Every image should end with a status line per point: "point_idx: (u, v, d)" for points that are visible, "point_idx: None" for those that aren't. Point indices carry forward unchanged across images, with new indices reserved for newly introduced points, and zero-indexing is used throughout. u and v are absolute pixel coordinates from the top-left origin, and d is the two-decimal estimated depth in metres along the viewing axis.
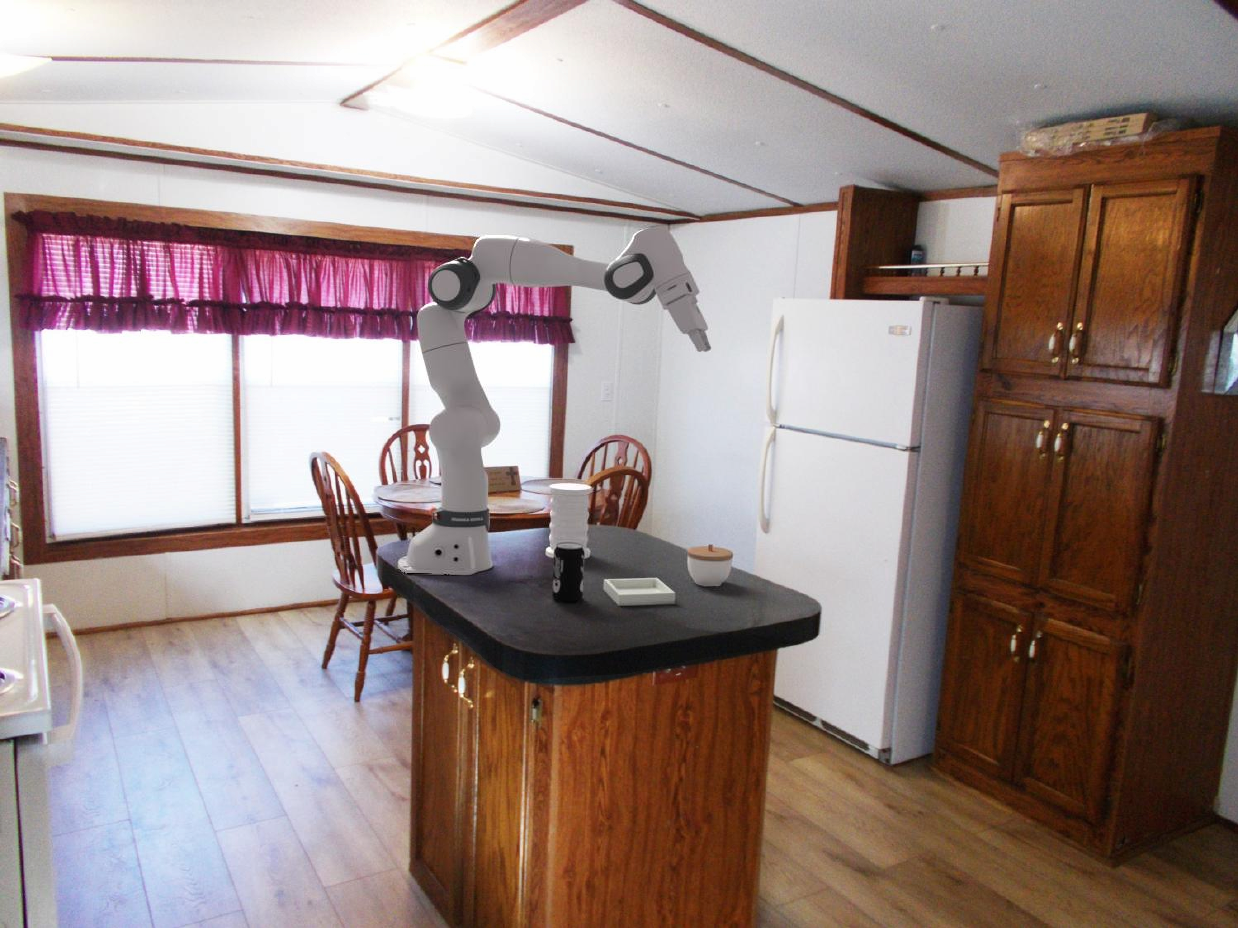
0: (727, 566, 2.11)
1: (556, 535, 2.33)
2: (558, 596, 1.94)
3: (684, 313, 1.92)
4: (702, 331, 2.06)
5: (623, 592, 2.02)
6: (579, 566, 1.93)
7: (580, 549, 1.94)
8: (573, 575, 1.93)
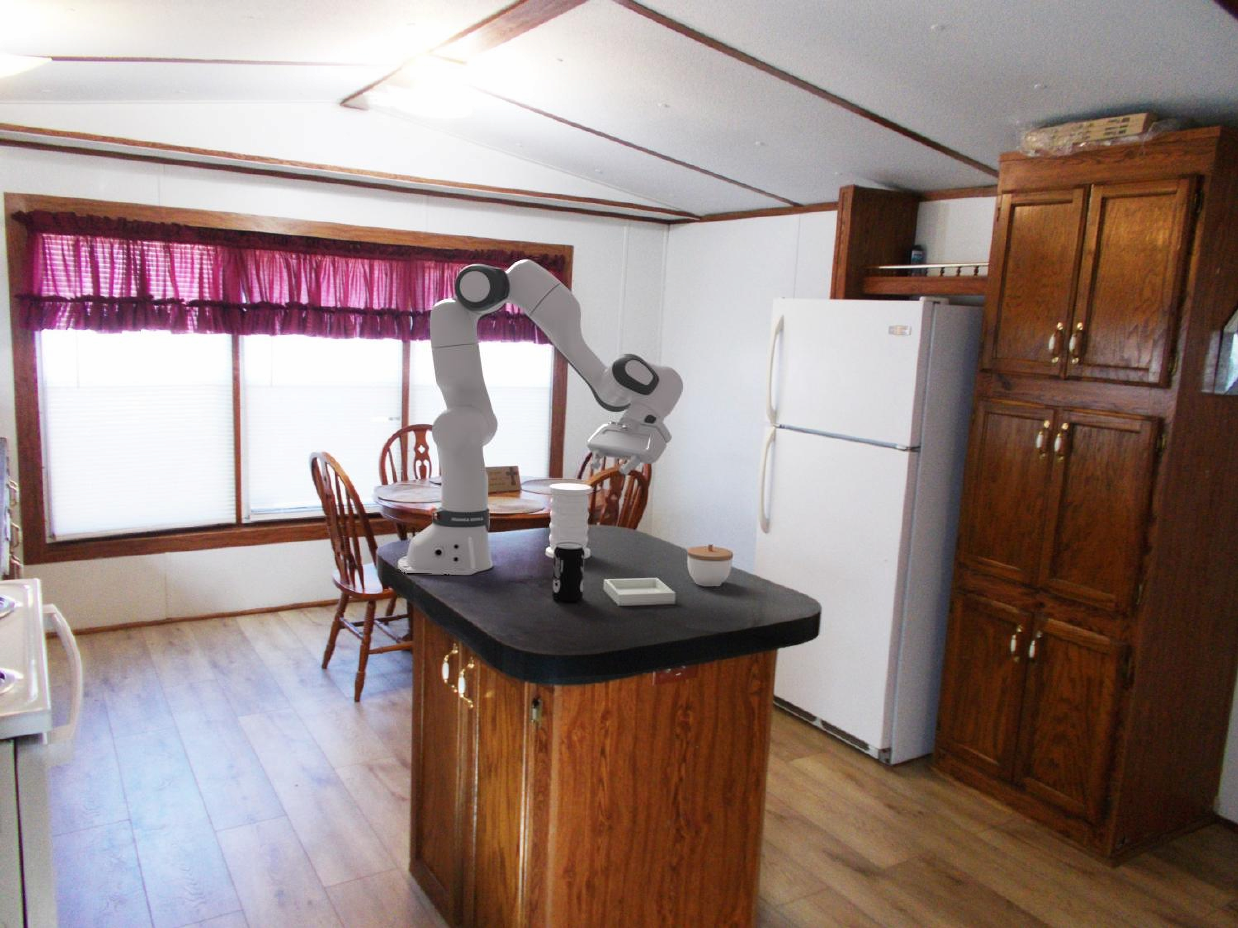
0: (727, 566, 2.11)
1: (556, 535, 2.33)
2: (558, 596, 1.94)
3: (659, 449, 2.03)
4: (603, 454, 2.12)
5: (623, 592, 2.02)
6: (579, 566, 1.93)
7: (580, 549, 1.94)
8: (573, 575, 1.93)
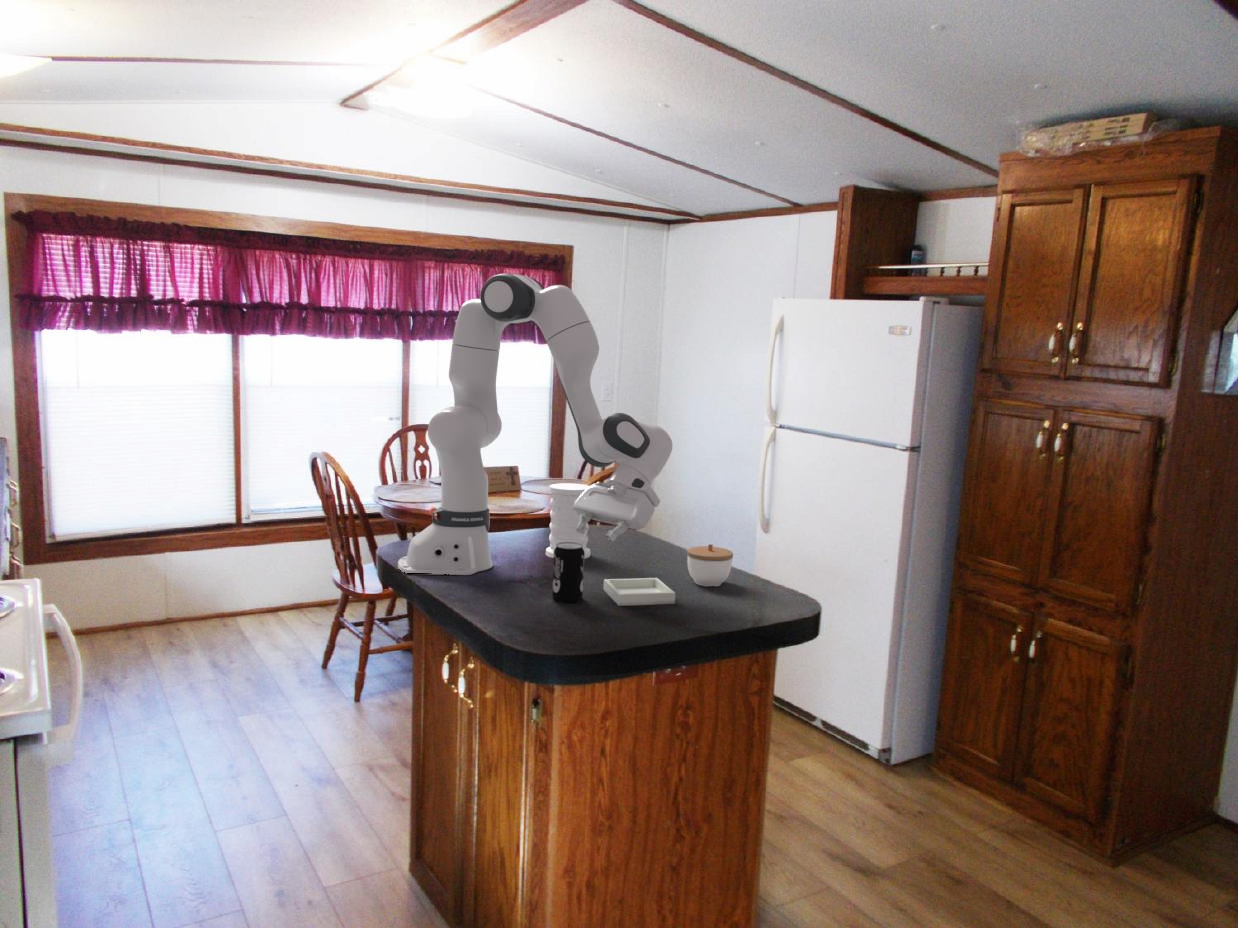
0: (727, 566, 2.11)
1: (556, 535, 2.33)
2: (558, 596, 1.94)
3: (647, 515, 1.97)
4: (590, 517, 2.06)
5: (623, 592, 2.02)
6: (579, 566, 1.93)
7: (580, 549, 1.94)
8: (573, 575, 1.93)
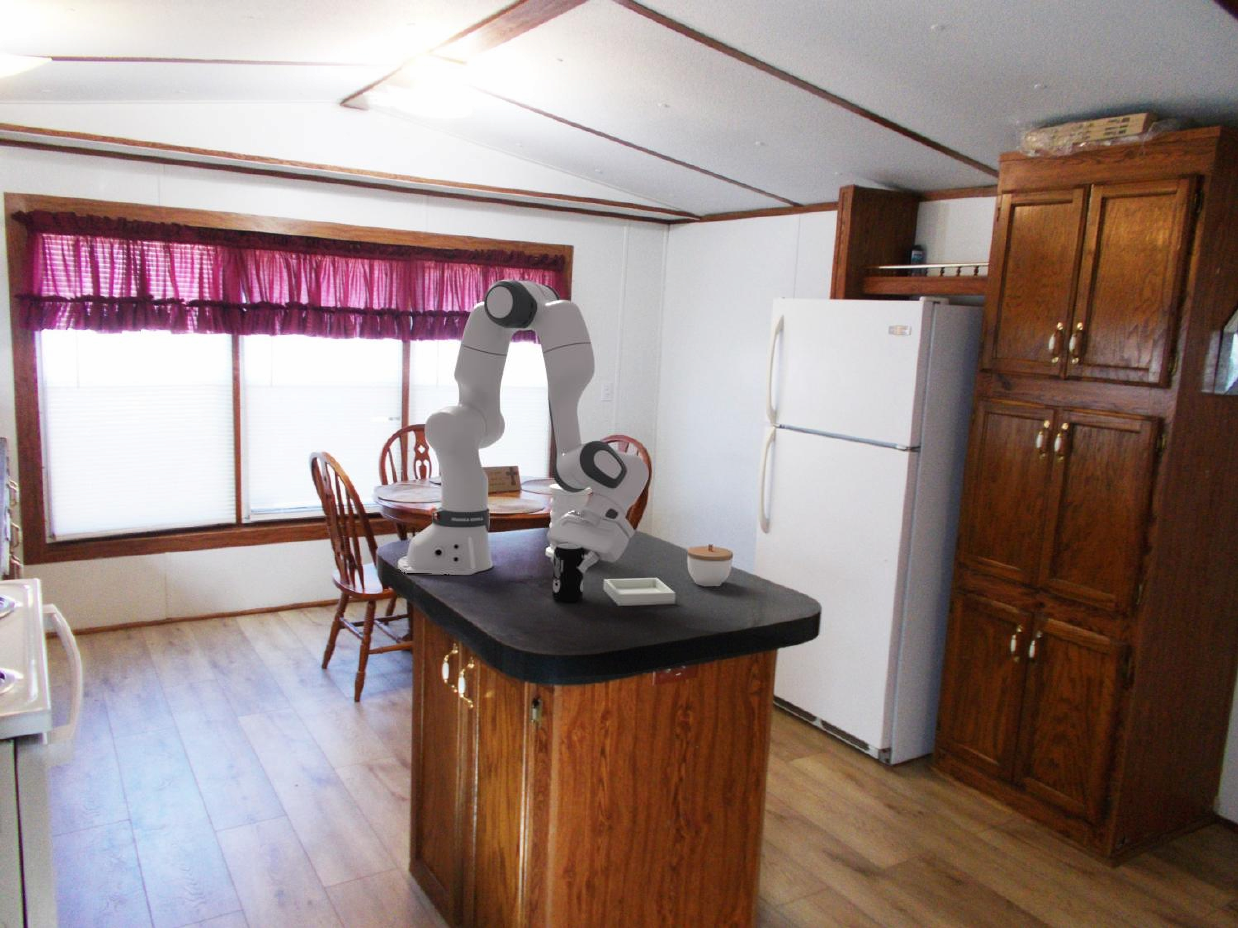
0: (727, 566, 2.11)
1: None
2: (558, 596, 1.94)
3: (621, 546, 1.92)
4: None
5: (623, 592, 2.02)
6: None
7: (580, 549, 1.94)
8: (573, 575, 1.93)
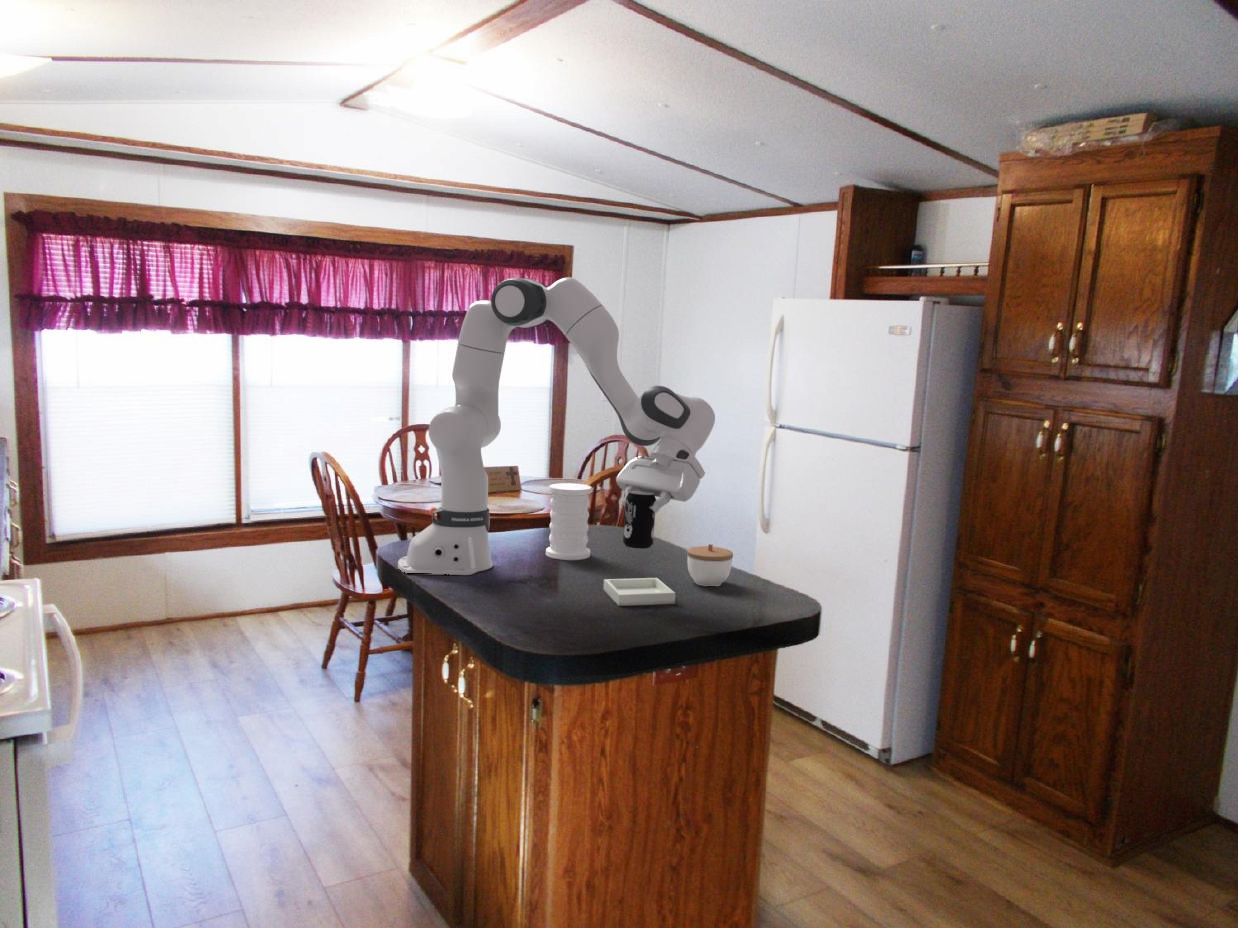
0: (727, 566, 2.11)
1: (556, 535, 2.33)
2: (630, 542, 1.96)
3: (693, 486, 1.94)
4: None
5: (623, 592, 2.02)
6: (651, 512, 1.96)
7: (652, 496, 1.96)
8: (645, 521, 1.95)
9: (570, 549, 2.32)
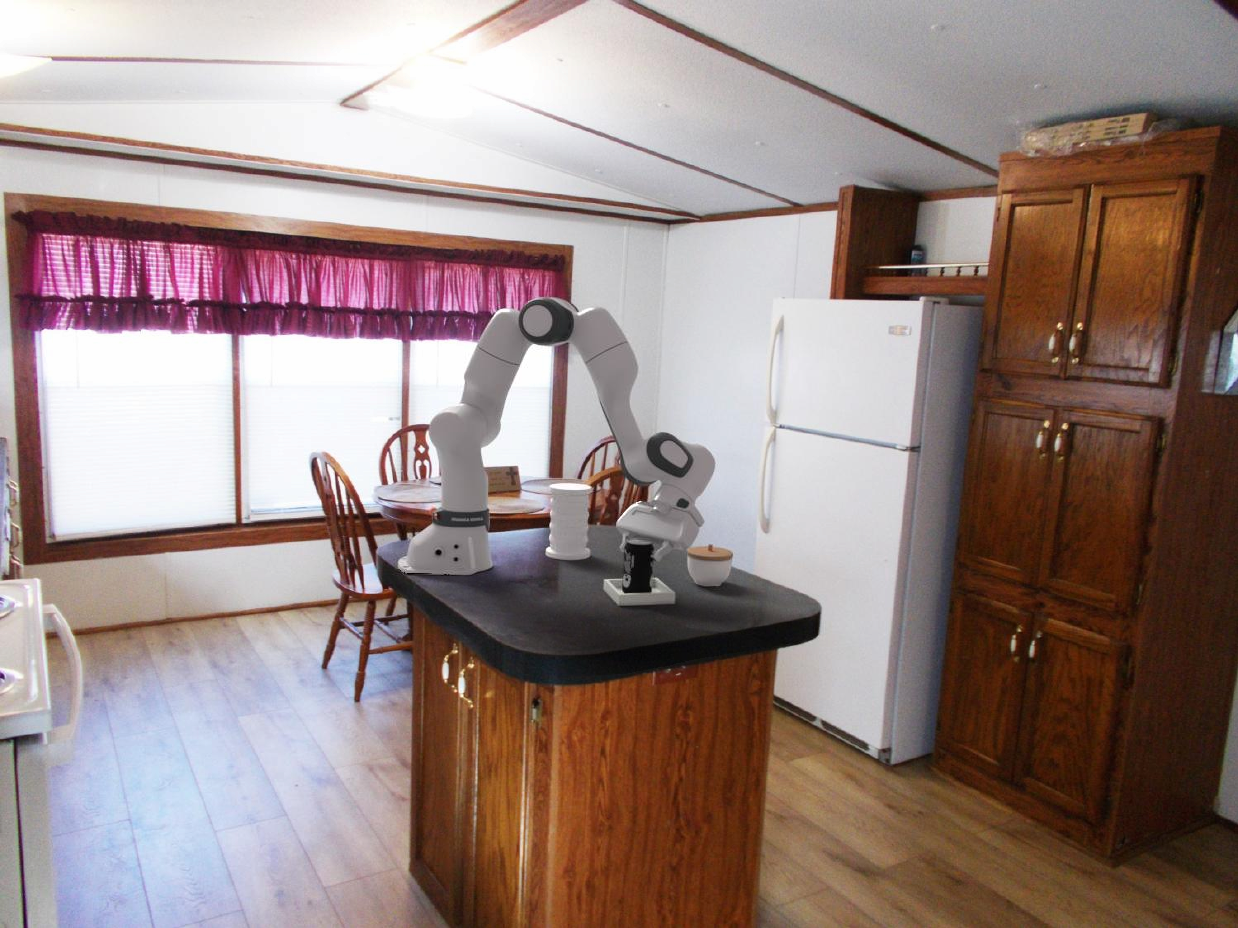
0: (727, 566, 2.11)
1: (556, 535, 2.33)
2: (628, 591, 1.98)
3: (692, 535, 1.96)
4: (633, 536, 2.05)
5: (623, 592, 2.02)
6: (649, 561, 1.97)
7: (650, 545, 1.98)
8: (643, 570, 1.97)
9: (570, 549, 2.32)
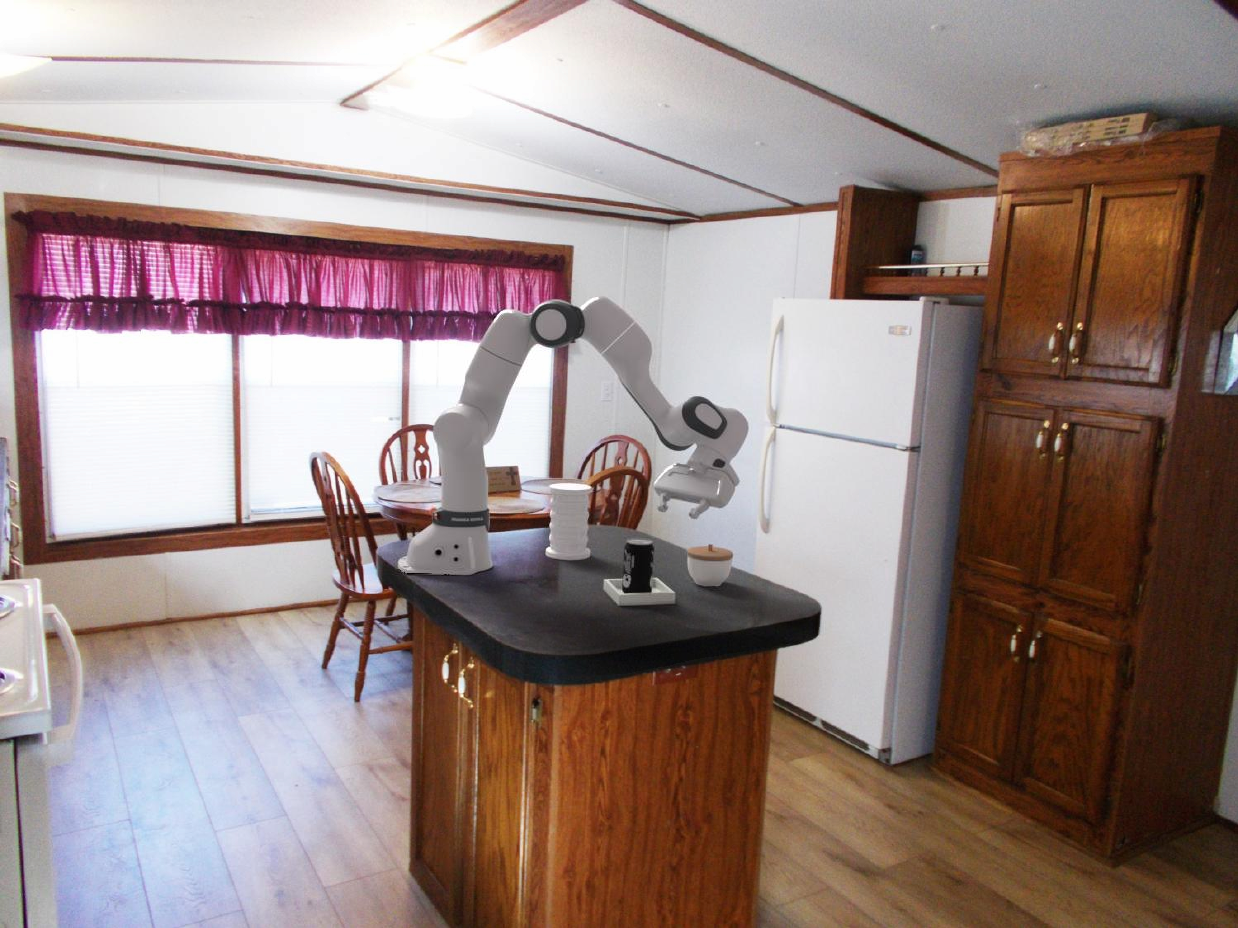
0: (727, 566, 2.11)
1: (556, 535, 2.33)
2: (629, 591, 1.98)
3: (729, 493, 2.04)
4: (670, 497, 2.13)
5: (623, 592, 2.02)
6: (649, 561, 1.97)
7: (650, 545, 1.98)
8: (643, 571, 1.97)
9: (570, 549, 2.32)
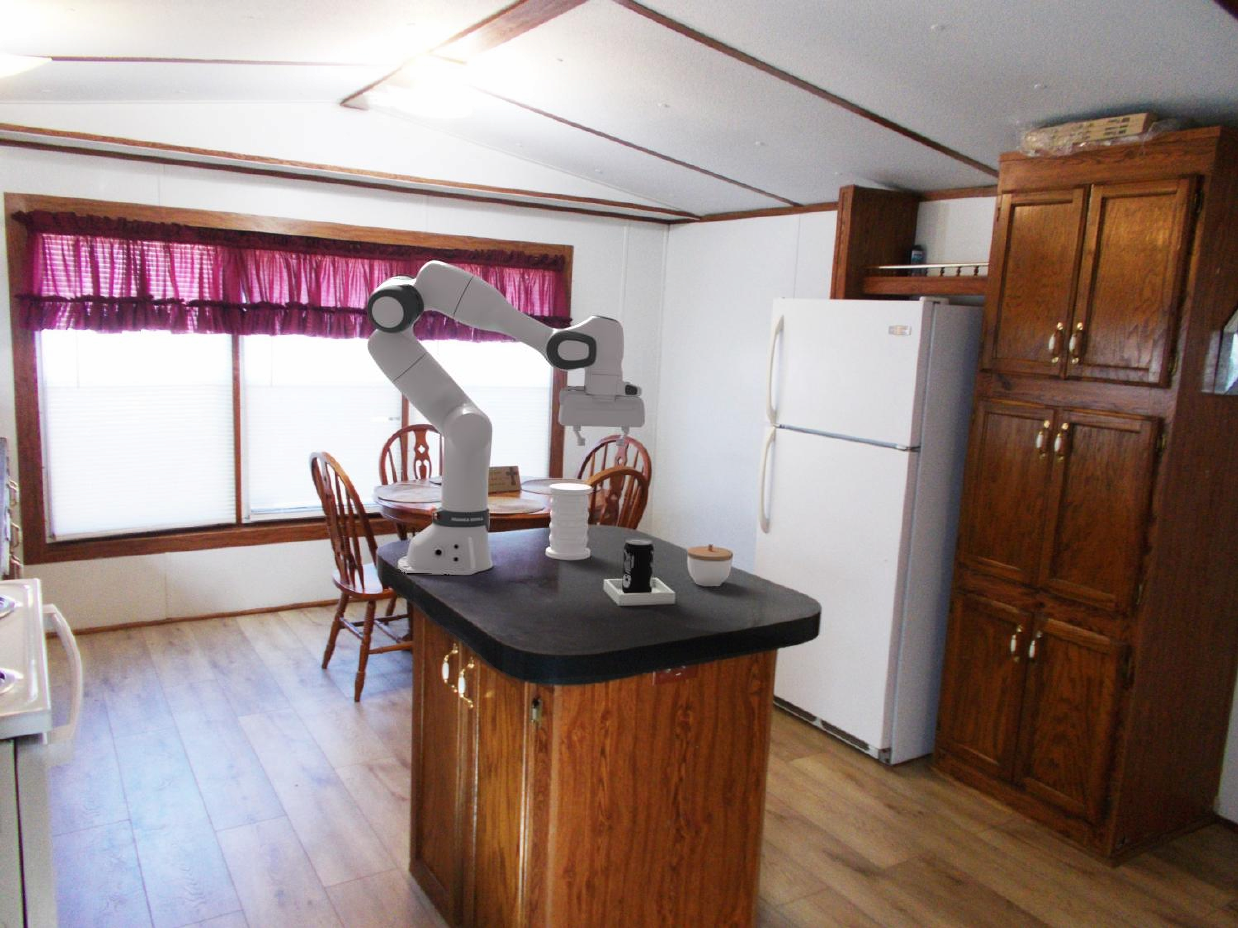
0: (727, 566, 2.11)
1: (556, 535, 2.33)
2: (629, 592, 1.98)
3: None
4: None
5: (623, 592, 2.02)
6: (649, 561, 1.97)
7: (650, 545, 1.98)
8: (643, 571, 1.97)
9: (570, 549, 2.32)
